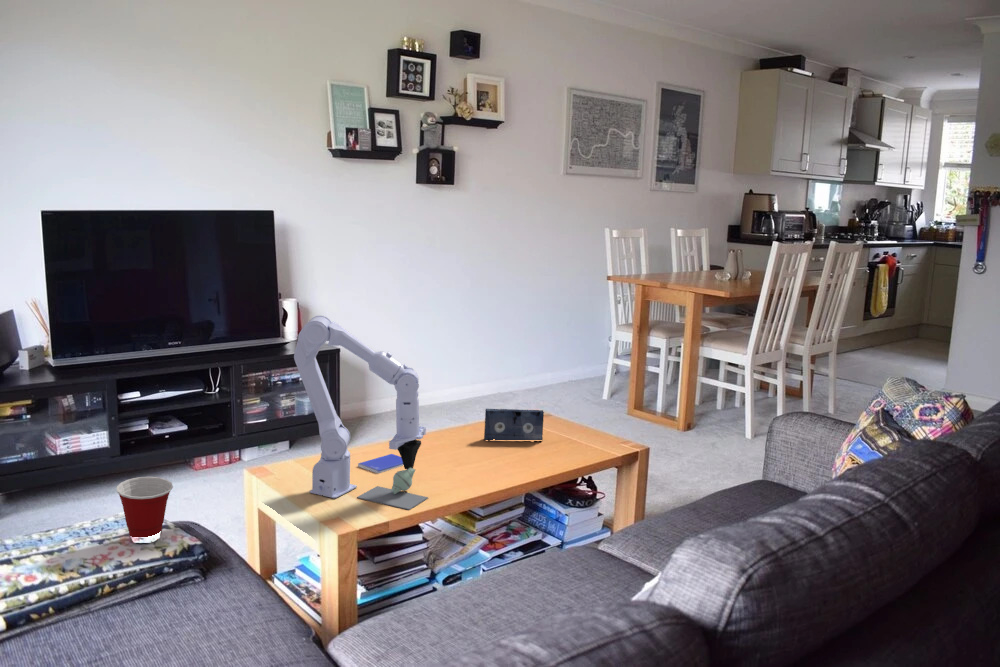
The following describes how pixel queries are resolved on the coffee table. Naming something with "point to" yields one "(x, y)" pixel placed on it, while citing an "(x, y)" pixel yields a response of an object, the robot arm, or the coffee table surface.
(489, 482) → the coffee table surface
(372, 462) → the hard drive
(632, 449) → the coffee table surface
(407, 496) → the mat
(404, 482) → the grey-green rounded piece
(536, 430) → the vhs cassette tape
